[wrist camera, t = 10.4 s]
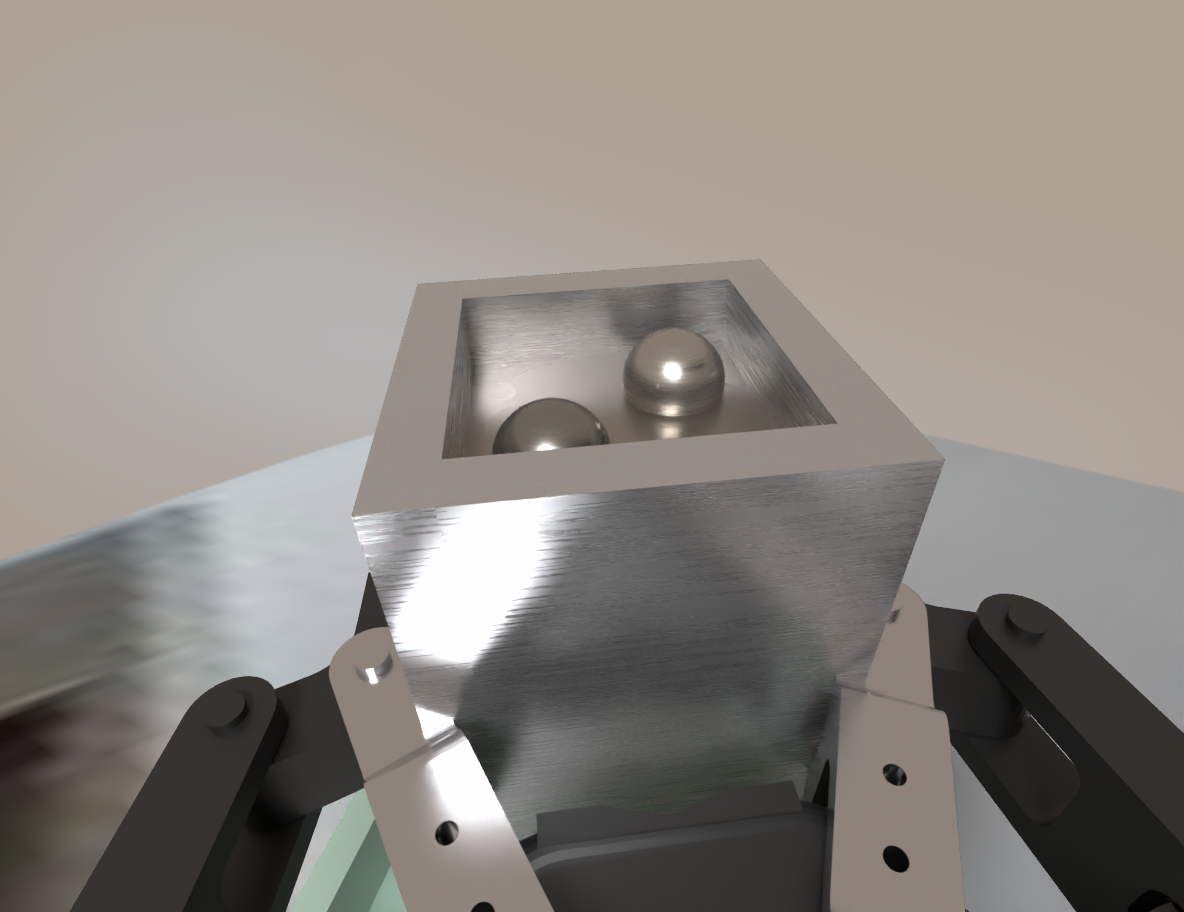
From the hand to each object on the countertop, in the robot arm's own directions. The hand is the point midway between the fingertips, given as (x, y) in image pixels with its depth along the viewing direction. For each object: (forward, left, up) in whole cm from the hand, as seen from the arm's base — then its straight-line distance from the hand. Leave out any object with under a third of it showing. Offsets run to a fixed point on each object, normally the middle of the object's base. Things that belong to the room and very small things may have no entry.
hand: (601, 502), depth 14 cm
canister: (0, +3, -7) cm, 8 cm away
